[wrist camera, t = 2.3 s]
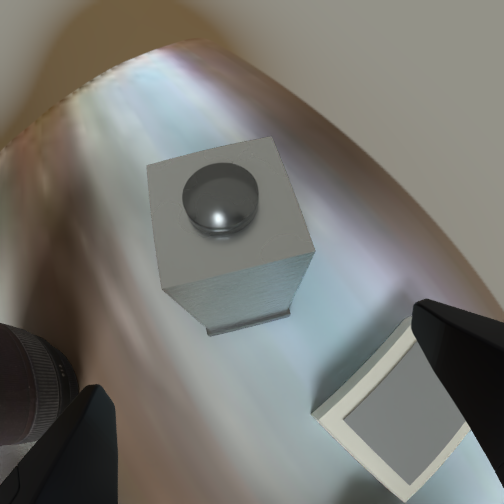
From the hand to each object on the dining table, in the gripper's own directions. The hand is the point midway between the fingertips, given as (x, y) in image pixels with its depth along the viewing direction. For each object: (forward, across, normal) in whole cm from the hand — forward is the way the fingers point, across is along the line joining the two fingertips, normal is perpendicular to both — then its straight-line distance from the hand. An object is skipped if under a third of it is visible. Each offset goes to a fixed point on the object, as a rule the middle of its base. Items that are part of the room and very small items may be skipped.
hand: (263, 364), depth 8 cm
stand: (+4, -8, +12) cm, 16 cm away
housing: (+12, 0, +5) cm, 13 cm away
